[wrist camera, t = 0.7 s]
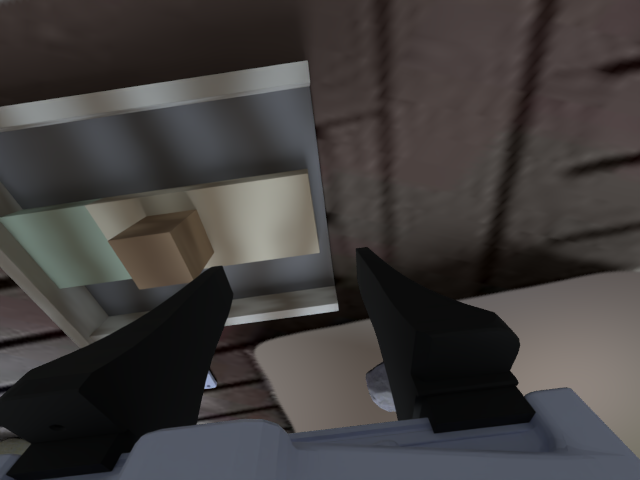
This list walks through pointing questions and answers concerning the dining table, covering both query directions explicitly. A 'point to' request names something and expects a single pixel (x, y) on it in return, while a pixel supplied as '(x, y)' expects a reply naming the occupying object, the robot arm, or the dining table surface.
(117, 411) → the robot arm
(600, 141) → the dining table surface
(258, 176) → the box
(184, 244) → the walnut cube
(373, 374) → the stone block
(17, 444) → the sea urchin shell
